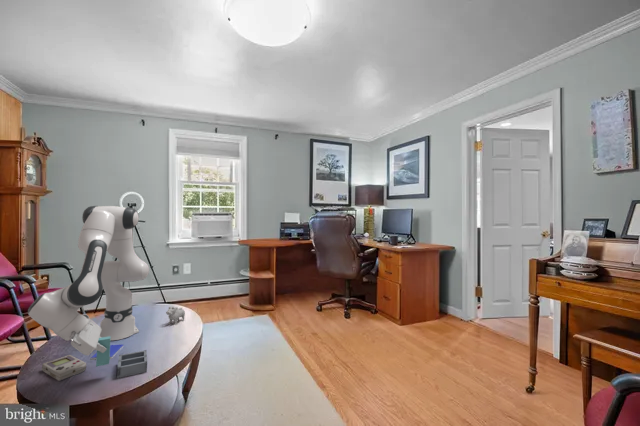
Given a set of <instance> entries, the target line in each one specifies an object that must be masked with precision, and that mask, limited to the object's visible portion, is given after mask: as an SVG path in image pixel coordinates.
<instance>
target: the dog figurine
mask: <svg viewBox="0 0 640 426" xmlns="http://www.w3.org/2000/svg"><path fill="white" fill-rule="evenodd" d="M165 312H166V315H168V319H169V321H168V325H171V324H172V321H173V322H174V324H173V325H174V326H176V325H177V324H178V321H180V318H182V322H185V315H186V312H185V310H184V309H183V307H179V308H178V307H177V306H176V307H174V306H169V307H168V309H167V311H165ZM177 320H178V321H177Z"/></svg>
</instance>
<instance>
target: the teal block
mask: <svg viewBox="0 0 640 426" xmlns="http://www.w3.org/2000/svg"><path fill="white" fill-rule="evenodd" d="M111 341H112V340H111V336H109V337H102V338H99V340H98V343H100V345H102V346H103V345H104V346H105V347H107V349H106V351H105V352H104V353H102V352H100V351H97V350H96V353H97V357H96V361H95V367H101V366H107V365H110V360H111V359H110V345H111Z"/></svg>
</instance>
